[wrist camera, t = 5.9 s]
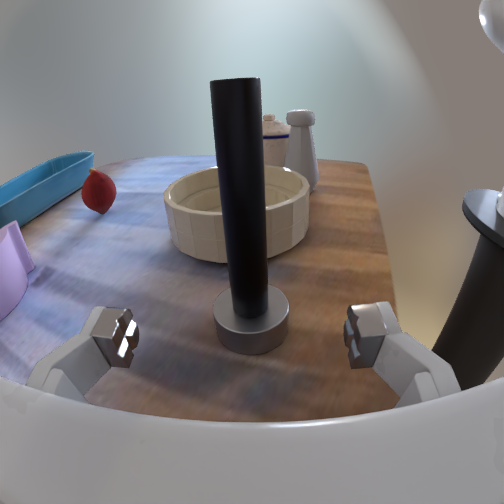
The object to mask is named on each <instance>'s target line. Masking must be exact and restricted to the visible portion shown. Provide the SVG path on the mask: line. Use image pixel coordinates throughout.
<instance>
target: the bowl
mask: <svg viewBox="0 0 504 504" xmlns="http://www.w3.org/2000/svg"><path fill="white" fill-rule="evenodd" d="M264 175H265V202H266V232H267V258H270V257H273V256H276V255H278V254H280V253H282V252H285V251H287V250H289V249H291V248H293V247H294V246H295V245H296V244H297V243H298V242H300V241H301V240H302V239H303V238H304V236H305V234H306V231H307V229H308V220H309V191H310V186H309V183H308V181H307V179H306V178H305V177H304V176H302V175H301V174H299V173H298V172H296V171H293V170H290V169H287V168H283V167H278V166H272V165H264ZM164 203H165V208H166V213H167V218H168V223H169V228H170V233H171V238H172V242H173V243H174V244H175V245H176V247H177V248H178V249H179V250H180V251H181V252H183V253H185V254H188V255H190V256H192V257H194V258H196V259H200V260H206V261H212V262H218V263H227V255H226V246H225V237H224V228H223V219H222V210H221V200H220V190H219V180H218V170H217V167H212V168H208V169H204V170H200V171H197V172H194V173H191V174H189V175H186V176H184V177H181V178H180V179H178V180H177V181H175V182H173V183H172V184H170V185H169V187H168V188H167V189H166V190H165V192H164Z"/></svg>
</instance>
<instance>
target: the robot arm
mask: <svg viewBox="0 0 504 504" xmlns="http://www.w3.org/2000/svg"><path fill="white" fill-rule="evenodd" d="M479 16H480V21H481V24H482V27H483V29H484V31H485V33H486V34H487V36H488V37H489V39H490V40H491V41H492V42H493V43H494V44H495V45H496V46H497V47H498V48H499V49H500V50H501V51H502V53H503V54H504V0H482V1H481V3H480V7H479ZM497 200H498V203H497V205H496V209H497V211H498V212H499V213H500V215H501V216H502V217H503V218H504V187H503V190H502V193H501V194H499V195H498V198H497ZM347 315H348V319H347V320H346V321H345V324H344V342H345V346H346V347H348V348H349V352H348V358H349V363H350V367H351V369H360V368H370V367H373V369H374V370H375V371H376V372H377V374H378V375H379V376H380V377H381V378H382V379H383V380H384V381H385V382H386V383H387V384H388V385H389V386H390V387H391V388H392V389H393V390H394V391H395V392H396V393H397V395H398V396H399V397H400V400H399V401H398V403H397V404H396V406H395V407H394V409H390V410H385V411H379V412H373V413H367V414H361V415H354V416H346V417H338V418H329V419H319V420H306V421H290V422H215V421H198V420H186V419H176V418H167V417H158V416H151V415H144V414H138V413H132V412H126V411H120V410H115V409H110V408H105V407H100V406H96V405H91V404H89V402H88V401H87V400H86V399H85V398H84V397H83V396H84V395H85V394H86V393H87V391H88V390H89V389H90V388H91V387H92V386H93V385H94V384H95V383H96V382H97V381H98V380H99V379H100V378H101V377H102V376H103V375H104V374H105V373H106V372H107V371H108V370H109V369H110V368H111V367H119V368H129V367H130V365H131V362H132V359H133V356H134V355H133V352H132V350H133V349H135V348H136V347H137V345H138V342H139V329H138V326H137V324H136V323H135V322H134V321H132V320H131V319H132V317H133V315H132V312H131V310H130V309H127V308H115V307H99V306H96V307H95V308H93V310H92V312H91V313H90V315H89V317H88V319H87V320H86V322H85V324H84V326H83V328H82V330H81V332H80V333H79V335H77V334H76V335H74V336H73V337H72V338H70V339H69V340H67V341H66V342H65V343H63V344H62V345H60V346H59V347H58V348H56V349H55V350H54V351H52V352H51V353H49V354H48V355H47V356H45V357H44V358H43V359H41V360H40V361H38V362H37V363H36V365H35V367H34V369H33V371H32V373H31V375H30V377H29V379H28V381H27V383H26V385H23V384H20V383H17V382H15V381H12V380H9V379H7V378H4V377H2V376H0V504H504V376H503V377H501V378H498V379H496V380H493V381H490V382H488V383H485V384H482V385H479V386H476V387H474V388H471V389H467V390H464V391H461V389H460V386H459V384H458V381H457V379H456V377H455V374H454V372H453V370H452V367H451V365H450V364H448V363H447V362H446V361H444V360H443V359H442V358H440V357H439V356H438V355H436V354H435V353H434V352H432V351H431V350H429V349H428V348H427V347H425V346H424V345H423V344H421V343H420V342H419V341H417V340H416V339H414V338H413V337H412V336H410V335H409V334H408V333H403V332H402V330H401V328H400V325H399V323H398V321H397V319H396V316H395V314H394V312H393V310H392V308H391V305H390V303H389V302H377V303H367V304H355V305H349V307H348V310H347Z"/></svg>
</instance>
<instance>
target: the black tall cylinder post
mask: <svg viewBox="0 0 504 504" xmlns="http://www.w3.org/2000/svg"><path fill="white" fill-rule="evenodd" d="M210 90H211V103H212V115H213V127H214V138H215V149H216V160H217V170H218V180H219V190H220V200H221V210H222V219H223V228H224V237H225V246H226V255H227V263H228V272H229V280H230V287H229V288H227V289H225V290H224V291H223V292H221V293H220V294H219V295H218V297H217V298H216V300H215V302H214V304H213V316H214V321H215V326H216V331H217V335H218V338H219V340H220V341H221V342H222V344H223V345H224V346H226V347H227V348H228V349H230V350H232V351H234V352H237V353H241V354H247V355H254V354H261V353H265V352H268V351H270V350H272V349H274V348H276V347H277V346H278V345H279V344H280V343H281V342H282V341H283V340H284V339H285V337H286V335H287V332H288V319H289V303H288V300H287V298H286V296H285V295H284V293H283V292H282V291H280V290H279V289H278V288H276V287H274V286H272V285H269V284H268V267H267V232H266V202H265V175H264V150H263V127H262V105H261V85H260V78H235V79H224V80H214V81H210Z"/></svg>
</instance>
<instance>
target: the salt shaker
mask: <svg viewBox="0 0 504 504" xmlns="http://www.w3.org/2000/svg"><path fill="white" fill-rule="evenodd" d="M286 120H287V124H288V125H291V128H290V134H289V140H288V146H287V153H286V159H285V165H284V168H287V169H290V170H293V171H296V172H298V173H299V174H301V175H302V176H304V177H305V178H306V179H307V181H308V183H309V186H310V191H309V193H311V192H312V191H313V189H314V187H315V185H316V184H317V182H318V180H319V174H318V167H317V160H316V154H315V148H314V142H313V136H312V130H311V126H312V125H314V123H315V116H314V113H313V112H311V111H309V110H291V111H289V112H288V113H287V117H286Z"/></svg>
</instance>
